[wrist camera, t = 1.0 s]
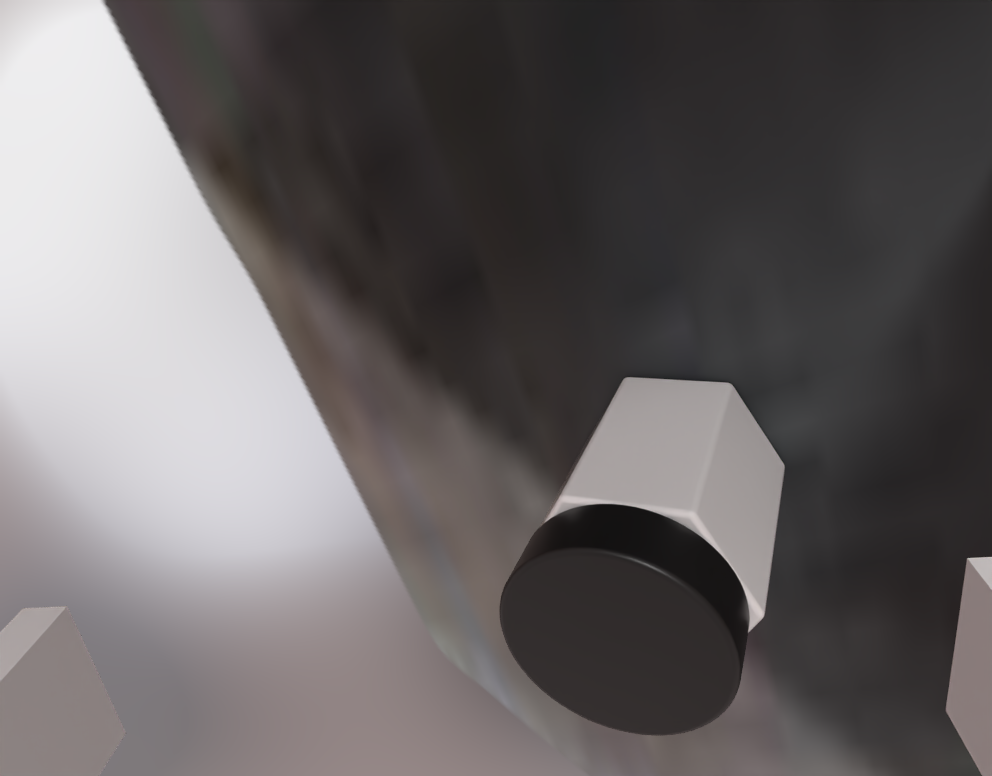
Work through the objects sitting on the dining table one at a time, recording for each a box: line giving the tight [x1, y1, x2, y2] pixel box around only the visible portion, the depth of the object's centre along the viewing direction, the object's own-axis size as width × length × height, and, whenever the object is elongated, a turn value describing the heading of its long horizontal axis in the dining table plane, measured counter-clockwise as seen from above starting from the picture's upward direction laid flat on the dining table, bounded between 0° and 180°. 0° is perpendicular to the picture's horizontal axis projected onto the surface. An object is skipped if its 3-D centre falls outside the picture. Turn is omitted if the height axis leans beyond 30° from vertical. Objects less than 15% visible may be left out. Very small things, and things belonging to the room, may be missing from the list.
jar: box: [500, 377, 785, 735], centre depth 30 cm, size 9×8×12 cm
